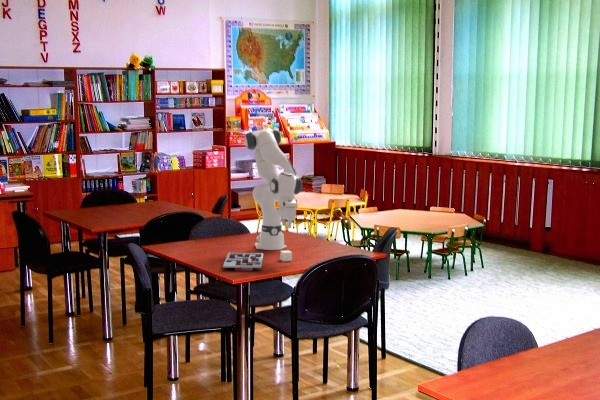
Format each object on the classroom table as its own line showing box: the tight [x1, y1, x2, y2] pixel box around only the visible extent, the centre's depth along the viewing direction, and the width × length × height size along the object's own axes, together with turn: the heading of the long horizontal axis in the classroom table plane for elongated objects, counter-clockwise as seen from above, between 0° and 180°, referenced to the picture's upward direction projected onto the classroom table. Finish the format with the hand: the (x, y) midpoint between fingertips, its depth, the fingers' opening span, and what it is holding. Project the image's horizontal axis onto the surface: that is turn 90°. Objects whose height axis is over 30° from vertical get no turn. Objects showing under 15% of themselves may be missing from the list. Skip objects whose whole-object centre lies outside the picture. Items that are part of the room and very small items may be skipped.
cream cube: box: [280, 250, 293, 262], centre depth 400 cm, size 5×5×5 cm
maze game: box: [222, 252, 264, 272], centre depth 388 cm, size 35×20×3 cm, turn 1°
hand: (286, 226), depth 398 cm, fingers open, 8 cm apart
